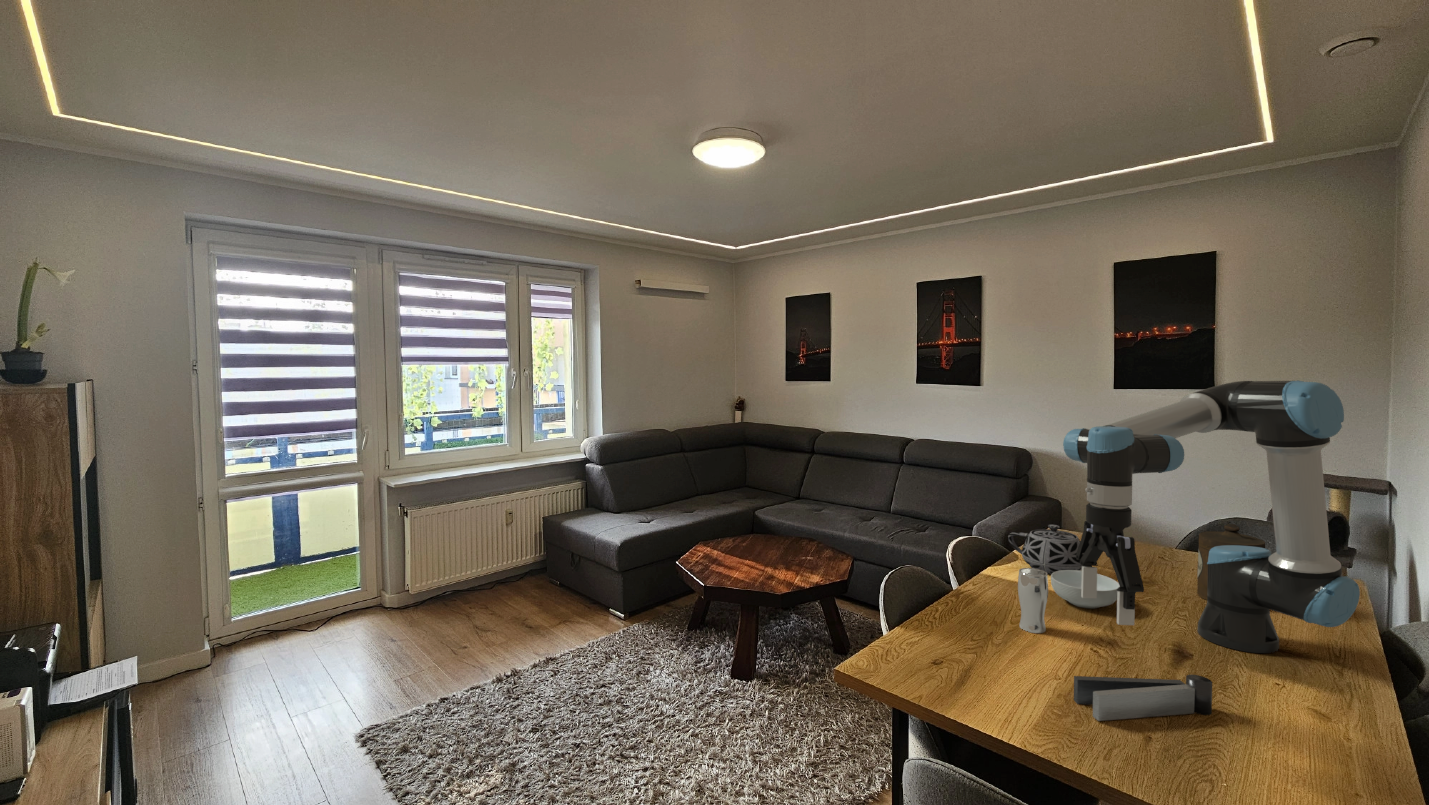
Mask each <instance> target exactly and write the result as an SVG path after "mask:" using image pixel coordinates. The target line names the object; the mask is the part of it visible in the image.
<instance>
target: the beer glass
mask: <svg viewBox="0 0 1429 805" xmlns="http://www.w3.org/2000/svg"><path fill="white" fill-rule="evenodd" d="M1048 578H1049V577H1048V573H1046V572H1045V571H1043V570H1039V569H1035V568H1032V567H1021V568H1020V569H1018V579H1017V592H1018V593H1017V594H1018V595H1017V596H1018V601H1019V605H1020V621H1019V629H1021V630H1022V629H1023V630H1022V631H1024V630H1025V631H1024V632H1027V631H1028V632H1027V633H1032V634H1043V633H1045V632H1046V631H1047V630H1046V627H1047V626H1046V624H1045V623H1046V622H1045V612H1046V608H1047V603H1048V598H1049V580H1048Z"/></svg>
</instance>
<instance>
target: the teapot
mask: <svg viewBox="0 0 1429 805" xmlns="http://www.w3.org/2000/svg"><path fill="white" fill-rule="evenodd" d="M1047 527H1048V528H1046V529H1045V528H1039V529H1033V530H1031V531H1030V532H1029V533H1028V532H1017V531H1013V532H1011V533H1009V534H1008V536H1007V537H1008V538H1007V539H1008V543H1009V544H1010V546H1011V547H1012V548H1013V549H1014V550H1015V551H1016V552H1018V553H1019V554H1020V555H1021V556H1022V559H1023V560H1024V562H1026V564H1028V565H1029V568H1035V569H1039V570H1043V571H1045V572H1046V573H1047V574H1050V575H1051V574H1052V573H1053V572H1056V571H1061V570H1079V571H1082V565H1081V564H1080V560H1077V559H1076V553H1077V550H1078V547H1079V544H1080V541H1081V539H1080V538H1079V537H1078V535H1076V534H1075V533H1072V532H1068V531H1065V530H1059V529H1060V528H1061V527H1060V525H1057V524H1048V525H1047ZM1015 536H1016V537H1017V536H1018V537H1025V538H1026V539H1025V541H1024V543H1023V545H1022V548H1020V547H1019V546H1018V545H1017V544H1016V542H1015V540H1014V537H1015ZM1082 554H1084V553H1082Z"/></svg>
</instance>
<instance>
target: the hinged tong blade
mask: <svg viewBox="0 0 1429 805" xmlns="http://www.w3.org/2000/svg"><path fill="white" fill-rule="evenodd" d="M1194 701H1195V688H1194V687H1192V686H1190V685H1188V684H1186V683H1185V684H1184V685H1171V686H1157V687H1144V688H1130V689H1117V690H1103V691H1093V705H1092V717H1093V718H1094V719H1095V720H1097V721H1098V722H1101V721H1113V720H1114V721H1115V720H1116V721H1117V720H1127V719H1140V718H1152V717H1163V716H1177V715H1188V714H1189V715H1191V714H1195V713H1194Z"/></svg>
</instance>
